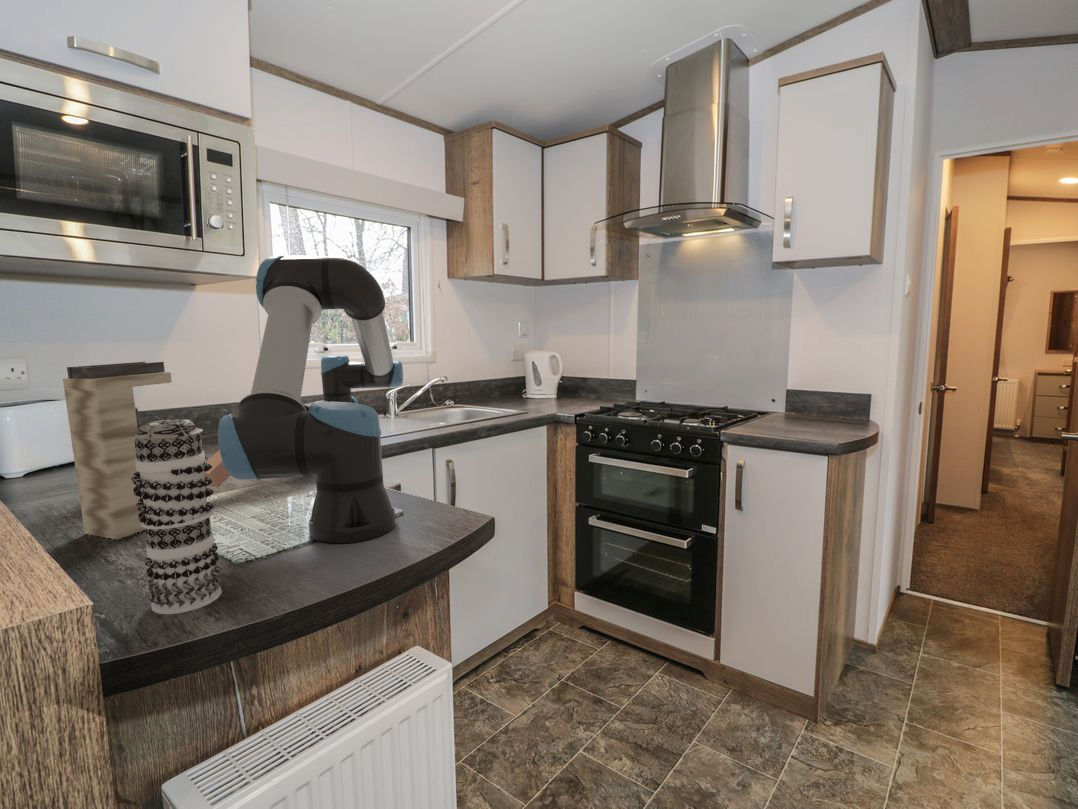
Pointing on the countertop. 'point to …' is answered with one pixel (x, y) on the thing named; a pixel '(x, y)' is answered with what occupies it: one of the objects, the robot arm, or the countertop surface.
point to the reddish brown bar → (216, 470)
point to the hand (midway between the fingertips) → (240, 433)
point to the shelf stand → (107, 442)
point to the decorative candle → (176, 516)
